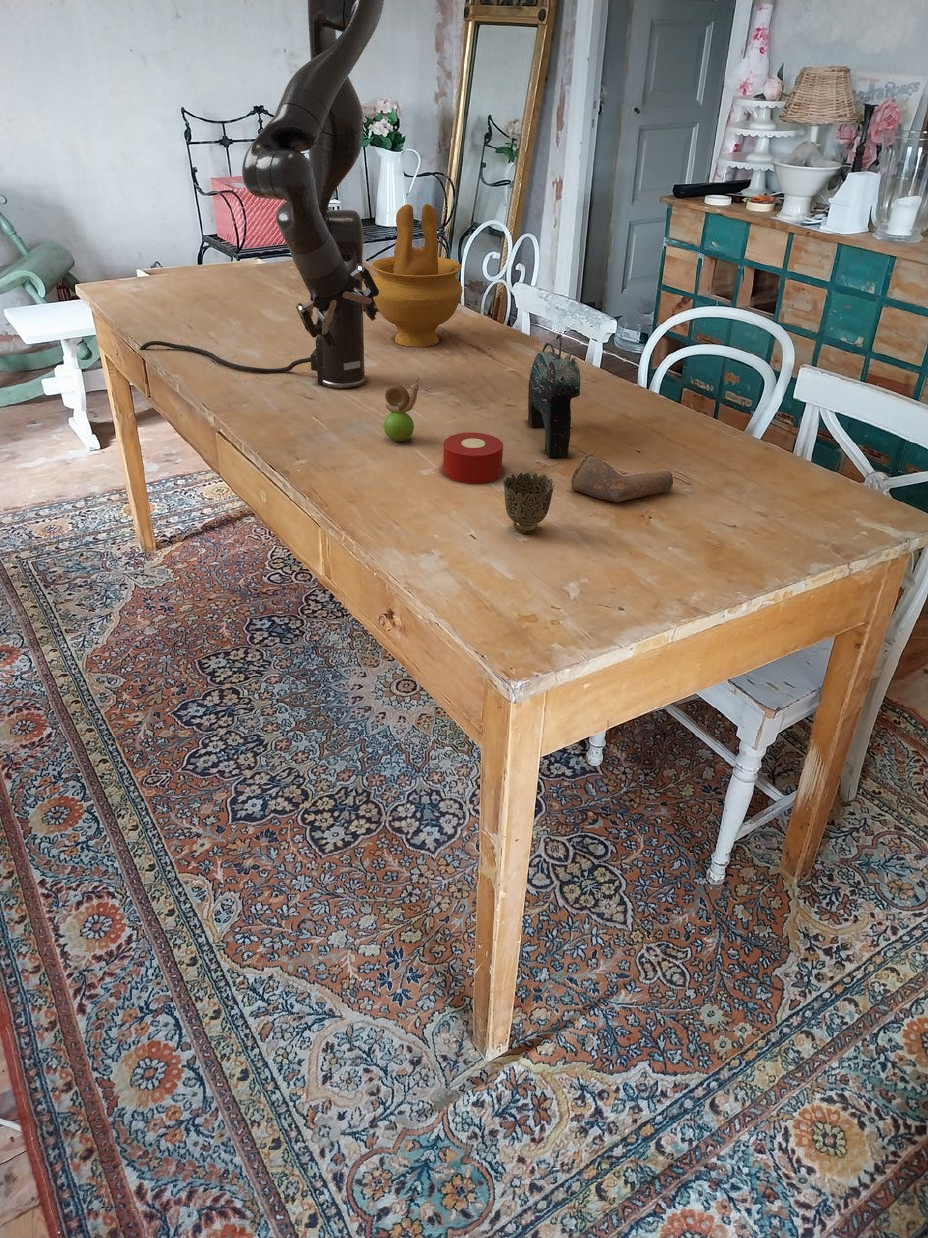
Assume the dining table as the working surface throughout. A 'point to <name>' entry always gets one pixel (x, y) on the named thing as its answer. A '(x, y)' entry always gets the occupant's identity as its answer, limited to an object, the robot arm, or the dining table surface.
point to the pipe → (617, 481)
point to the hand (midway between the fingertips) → (352, 330)
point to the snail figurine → (399, 411)
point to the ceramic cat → (553, 398)
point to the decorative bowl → (417, 282)
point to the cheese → (472, 457)
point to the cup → (527, 500)
